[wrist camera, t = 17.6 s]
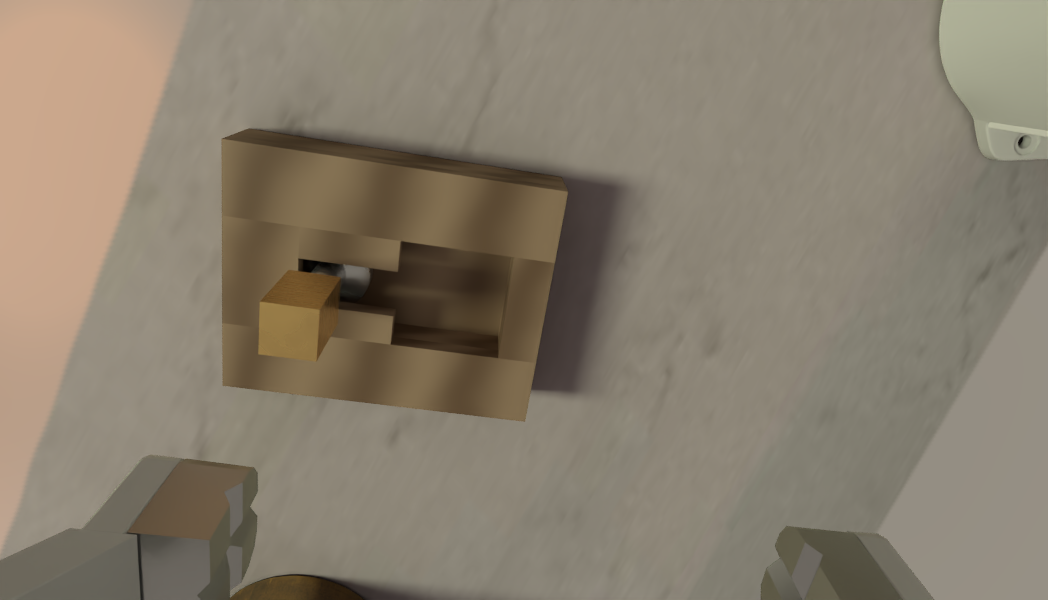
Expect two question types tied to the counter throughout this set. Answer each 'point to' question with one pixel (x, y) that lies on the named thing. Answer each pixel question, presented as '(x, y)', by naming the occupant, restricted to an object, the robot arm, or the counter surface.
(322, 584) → the wooden container
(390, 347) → the keyhole plate
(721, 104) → the counter surface
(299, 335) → the keyhole peg
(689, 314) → the counter surface
